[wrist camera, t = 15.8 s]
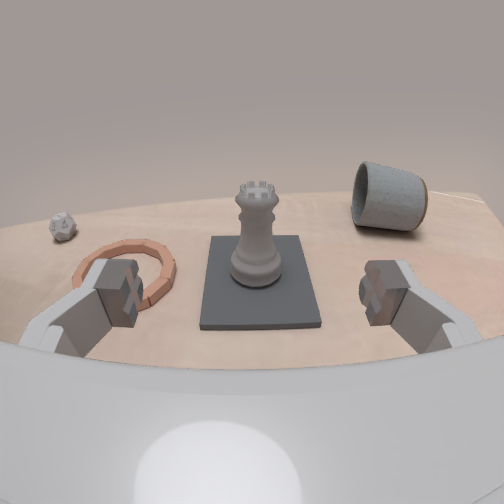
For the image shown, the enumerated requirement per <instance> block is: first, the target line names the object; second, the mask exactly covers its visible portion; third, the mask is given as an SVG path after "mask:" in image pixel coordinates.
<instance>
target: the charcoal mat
mask: <svg viewBox="0 0 504 504" xmlns="http://www.w3.org/2000/svg"><path fill="white" fill-rule="evenodd" d="M239 240H240V236H212V237H211V244H210V250H209V257H208V264H207V271H206V278H205V285H204V293H203V300H202V308H201V316H200V324H199V325H200V330H264V329H294V328H315V327H321V323H322V321H321V317H320V313H319V310H318V306H317V302H316V298H315V294H314V290H313V287H312V283H311V279H310V276H309V272H308V268H307V265H306V261H305V257H304V254H303V250H302V247H301V243H300V240H299V236H298V235H273V243H274V245H275V246H276V248H277V251H278V252H279V254H280V257H281V270H282V272H281V274H280V276H279V278H278V279H276V280H275V281H274V282H272V283H271V284H270V285H267V286H264V287H248V286H245V285H242V284H241V283H239V282H238V281H237V280H235V279H234V278H233V276H232V274H231V273H230V266H231V256H232V253H233V252H234V251H235V249H236V246H237V245H238V244H239Z"/></svg>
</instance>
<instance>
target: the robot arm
mask: <svg viewBox="0 0 504 504" xmlns="http://www.w3.org/2000/svg"><path fill="white" fill-rule="evenodd" d="M138 270H139V268H138V264H137V261H135V260H130V259H96V260H95V261H94V263H93V265H92V266H91V268H90V270H89V272H88V274H87V275H86V277H85V279H84V281H83V283H82V285H81V286H80V288H75V289H74V290H72V291H71V292H69V293H68V294H67V295H65V296H64V297H62V298H61V299H59V300H58V301H57V302H55V303H54V304H52V305H51V306H50V307H48V308H47V309H45V310H44V311H43V312H41V313H40V314H38V315H37V316H36V317H34V318H33V319H32V320H30V322H29V324H28V326H27V328H26V329H25V331H24V333H23V335H22V337H21V339H20V341H19V343H18V345H16V344H12V343H8V342H4V341H0V504H504V335H501V336H498V337H494V338H490V339H486V340H483V338H482V336H481V334H480V333H479V331H478V329H477V327H476V326H475V324H474V322H473V321H472V319H471V318H470V317H469V316H467V315H466V314H464V313H463V312H462V311H460V310H459V309H457V308H456V307H454V306H453V305H452V304H450V303H449V302H447V301H446V300H444V299H443V298H441V297H440V296H438V295H437V294H435V293H434V292H432V291H431V290H429V289H428V288H426V287H422V285H421V283H420V282H419V280H418V278H417V277H416V275H415V274H414V272H413V270H412V269H411V267H410V266H409V264H408V263H407V261H405V260H404V259H402V260H377V261H368V262H367V263H366V266H365V269H364V270H365V272H366V275H365V276H364V277H363V278H362V279H361V282H360V285H359V297H360V300H361V303H362V304H363V305H364V306H365V307H367V310H366V312H365V313H366V316H367V319H368V321H369V324H370V326H383V325H391V327H392V328H393V329H394V330H395V331H396V332H397V333H398V334H399V335H400V336H401V337H402V338H403V339H404V340H405V341H406V342H407V343H408V344H409V345H410V346H411V347H412V348H413V349H414V350H415V351H416V352H417V353H418V355H412V356H406V357H400V358H393V359H386V360H379V361H371V362H363V363H354V364H344V365H334V366H322V367H307V368H289V369H256V370H224V369H191V368H173V367H159V366H147V365H136V364H127V363H118V362H110V361H102V360H95V359H88V358H84V357H85V356H86V355H87V354H88V353H89V352H90V350H91V349H92V348H93V347H94V346H95V345H96V344H97V343H98V342H99V341H100V340H101V339H102V338H103V337H104V336H105V335H106V334H107V333H108V332H109V331H110V330H111V329H112V327H127V328H134V325H135V322H136V319H137V316H138V312H137V309H136V308H137V307H138V306H140V305H141V303H142V299H143V283H142V279H141V278H140V277H139V276H138V275H137V273H138Z"/></svg>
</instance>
